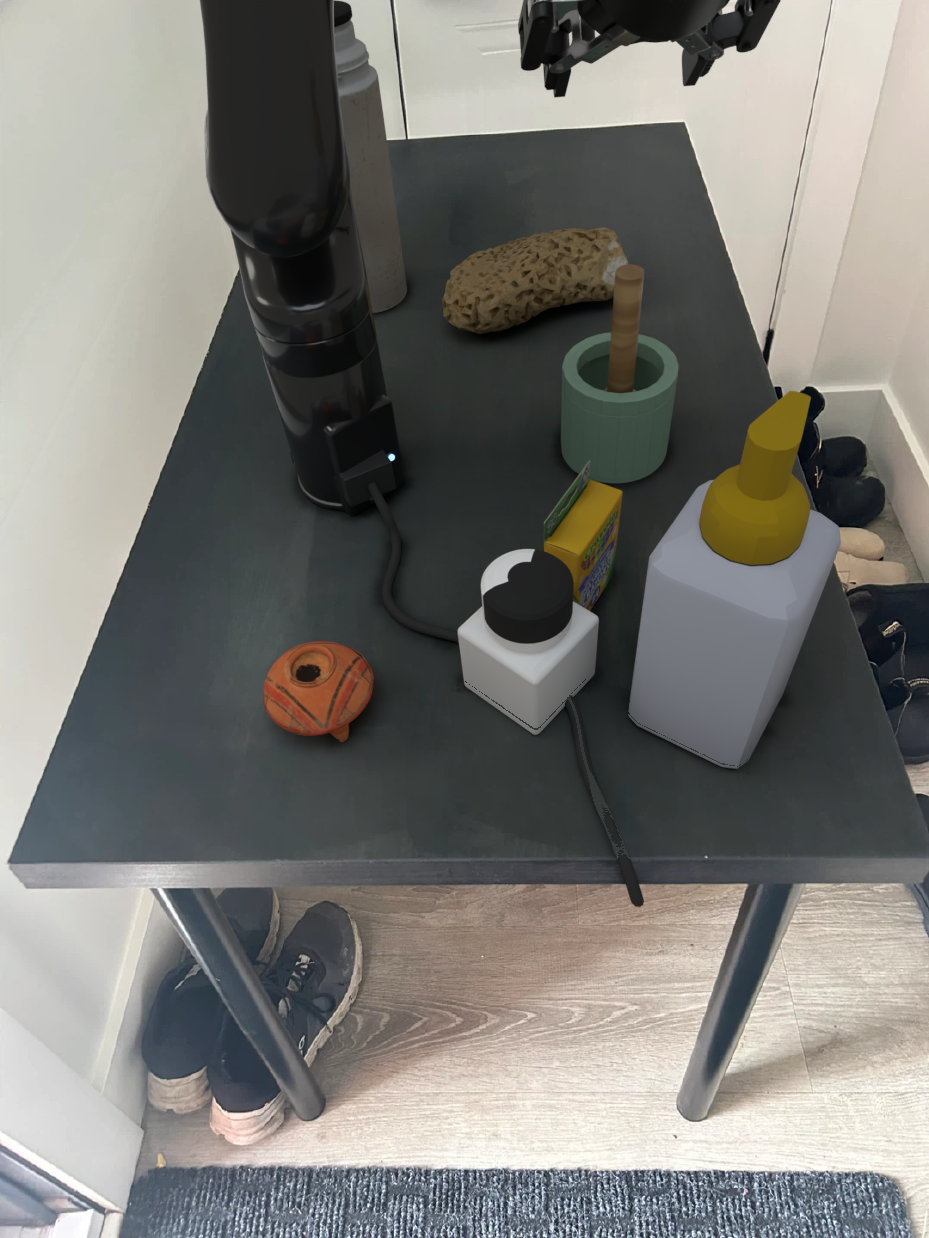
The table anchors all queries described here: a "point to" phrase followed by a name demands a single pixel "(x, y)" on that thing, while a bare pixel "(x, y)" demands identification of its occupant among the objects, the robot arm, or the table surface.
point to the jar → (617, 411)
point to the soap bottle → (733, 597)
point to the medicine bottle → (528, 638)
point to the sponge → (532, 278)
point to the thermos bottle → (368, 165)
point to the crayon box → (586, 535)
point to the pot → (318, 689)
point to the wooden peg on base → (625, 328)
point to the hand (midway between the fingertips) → (622, 76)
